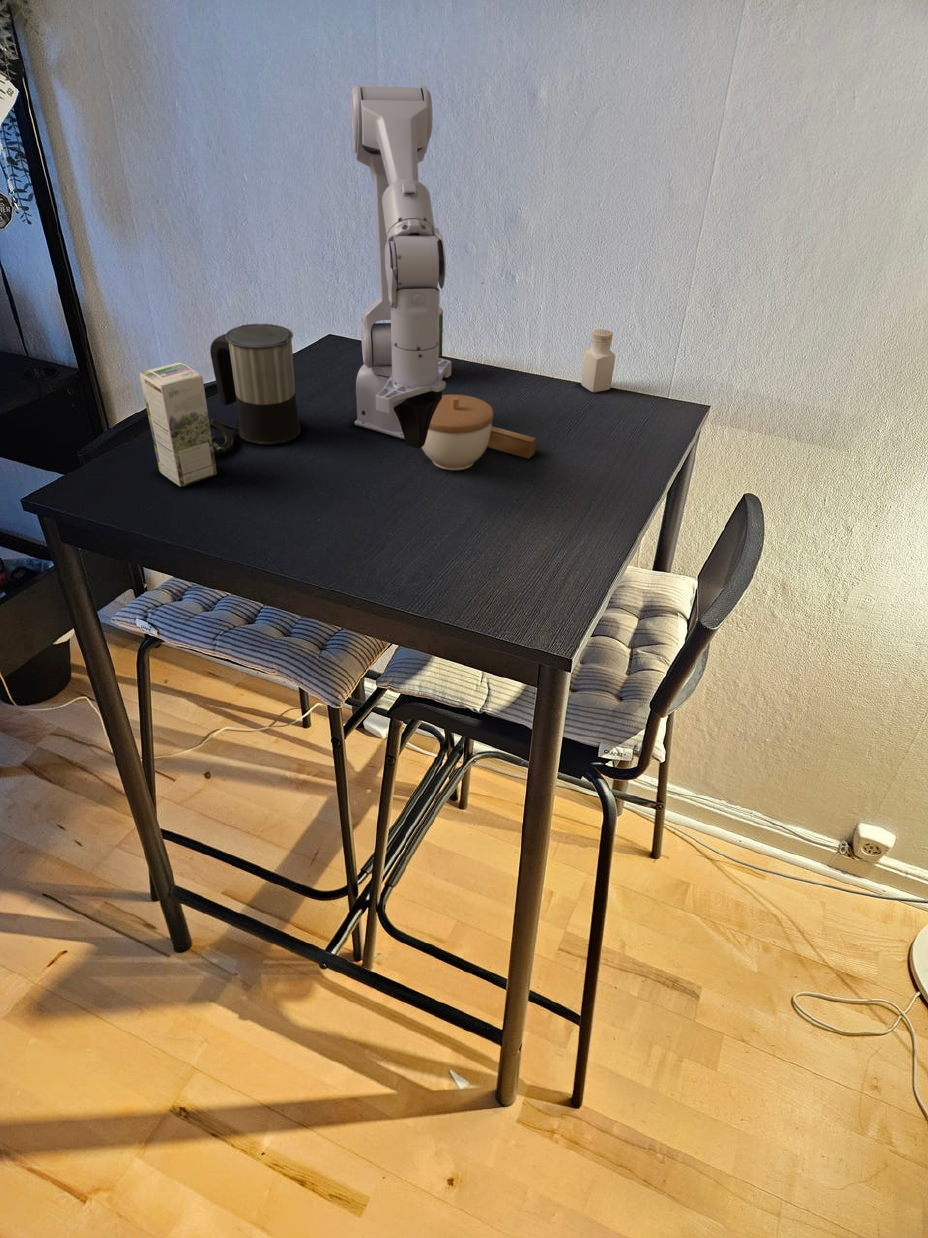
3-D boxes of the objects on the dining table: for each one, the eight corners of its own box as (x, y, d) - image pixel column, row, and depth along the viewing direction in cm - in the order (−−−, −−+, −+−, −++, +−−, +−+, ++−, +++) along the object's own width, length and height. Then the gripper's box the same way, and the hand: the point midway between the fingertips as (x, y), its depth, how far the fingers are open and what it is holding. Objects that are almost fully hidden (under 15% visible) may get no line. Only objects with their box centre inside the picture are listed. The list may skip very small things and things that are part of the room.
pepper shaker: (579, 385, 143) (586, 329, 138) (598, 381, 145) (606, 326, 139) (592, 394, 141) (599, 337, 135) (611, 390, 142) (620, 334, 136)
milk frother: (311, 424, 128) (303, 327, 119) (266, 470, 116) (253, 366, 106) (227, 411, 130) (212, 315, 121) (174, 455, 118) (153, 352, 109)
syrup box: (196, 460, 117) (178, 359, 108) (219, 475, 114) (202, 372, 105) (159, 473, 114) (137, 369, 105) (181, 489, 111) (160, 384, 102)
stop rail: (434, 431, 127) (434, 415, 125) (441, 427, 128) (441, 410, 127) (528, 458, 121) (530, 441, 119) (534, 453, 123) (536, 436, 121)
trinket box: (483, 482, 115) (486, 419, 109) (407, 472, 117) (407, 409, 111) (496, 448, 123) (500, 387, 118) (425, 439, 125) (426, 379, 119)
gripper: (410, 368, 94) (411, 475, 103) (473, 331, 104) (469, 432, 113) (359, 354, 97) (363, 460, 105) (425, 320, 107) (424, 419, 115)
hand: (415, 445), depth 109 cm, fingers closed
